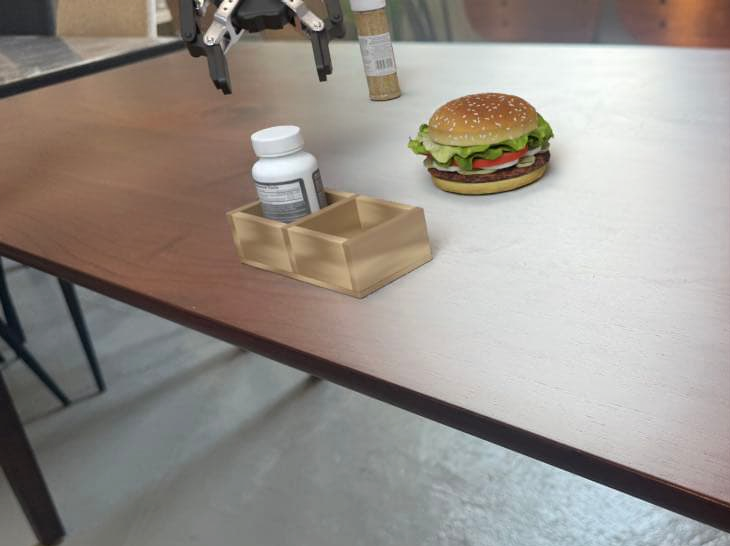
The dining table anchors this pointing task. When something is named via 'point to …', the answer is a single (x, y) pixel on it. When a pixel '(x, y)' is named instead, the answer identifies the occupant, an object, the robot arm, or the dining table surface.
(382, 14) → the brown spice jar
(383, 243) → the divided wooden box
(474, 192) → the food
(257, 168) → the pill bottle
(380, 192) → the dining table surface
